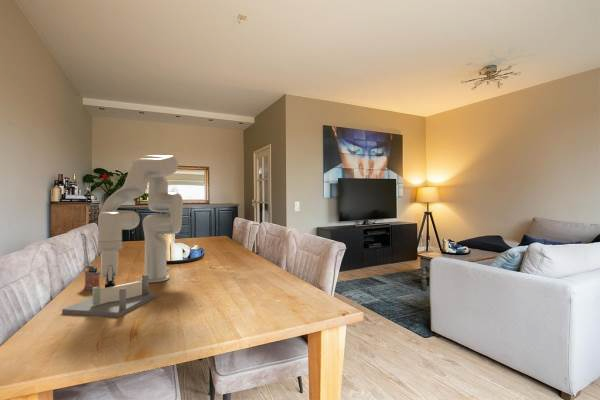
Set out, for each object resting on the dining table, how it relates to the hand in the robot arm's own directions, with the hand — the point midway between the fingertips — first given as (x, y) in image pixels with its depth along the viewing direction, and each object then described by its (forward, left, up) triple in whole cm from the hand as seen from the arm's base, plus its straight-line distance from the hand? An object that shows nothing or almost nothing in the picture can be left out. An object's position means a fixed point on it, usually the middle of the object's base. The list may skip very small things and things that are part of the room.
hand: (109, 294), depth 113 cm
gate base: (+1, +2, -4) cm, 4 cm away
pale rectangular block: (0, +4, -2) cm, 4 cm away
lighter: (-16, -21, -4) cm, 27 cm away
